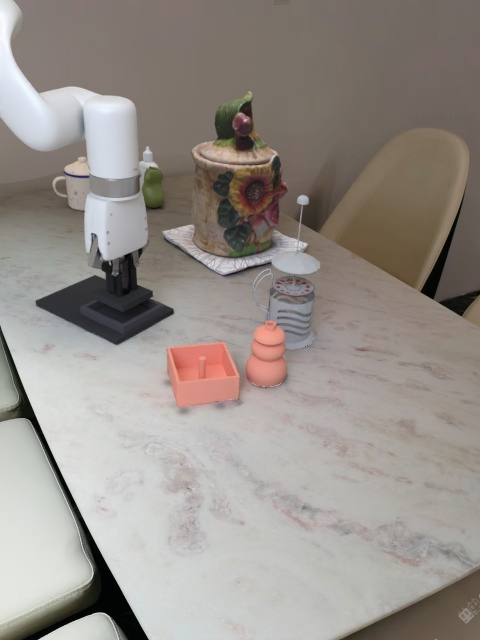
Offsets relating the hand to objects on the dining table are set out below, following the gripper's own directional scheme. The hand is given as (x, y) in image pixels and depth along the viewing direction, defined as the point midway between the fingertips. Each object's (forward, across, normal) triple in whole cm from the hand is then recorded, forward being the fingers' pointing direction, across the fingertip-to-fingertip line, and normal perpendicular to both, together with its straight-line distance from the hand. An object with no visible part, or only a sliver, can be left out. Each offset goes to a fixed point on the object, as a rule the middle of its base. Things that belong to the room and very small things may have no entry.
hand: (122, 289), depth 102 cm
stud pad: (+2, 0, 0) cm, 2 cm away
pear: (+6, -44, -34) cm, 56 cm away
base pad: (+6, 0, -5) cm, 7 cm away
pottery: (+6, +3, +26) cm, 26 cm away
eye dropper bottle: (+6, -51, -42) cm, 66 cm away
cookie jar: (+6, -39, -5) cm, 40 cm away
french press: (+6, -14, +24) cm, 29 cm away
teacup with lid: (+6, -32, -47) cm, 57 cm away
